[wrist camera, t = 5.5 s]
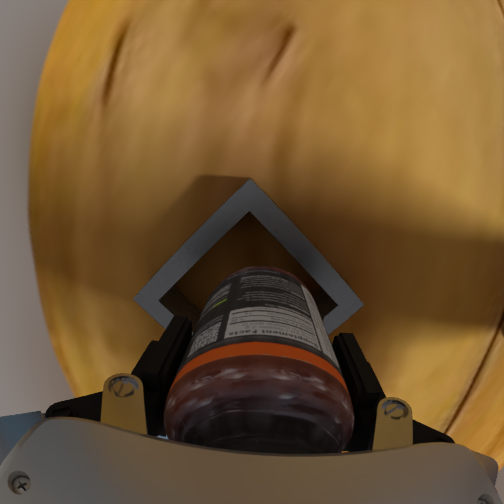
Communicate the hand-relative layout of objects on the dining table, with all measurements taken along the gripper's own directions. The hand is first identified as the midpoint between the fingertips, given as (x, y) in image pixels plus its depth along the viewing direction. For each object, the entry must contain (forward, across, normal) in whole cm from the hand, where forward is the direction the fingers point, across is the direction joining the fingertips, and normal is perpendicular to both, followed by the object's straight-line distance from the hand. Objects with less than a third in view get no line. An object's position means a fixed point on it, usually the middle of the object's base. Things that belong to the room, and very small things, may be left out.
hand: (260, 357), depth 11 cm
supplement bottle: (+4, 0, 0) cm, 4 cm away
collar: (+8, +1, 0) cm, 8 cm away
